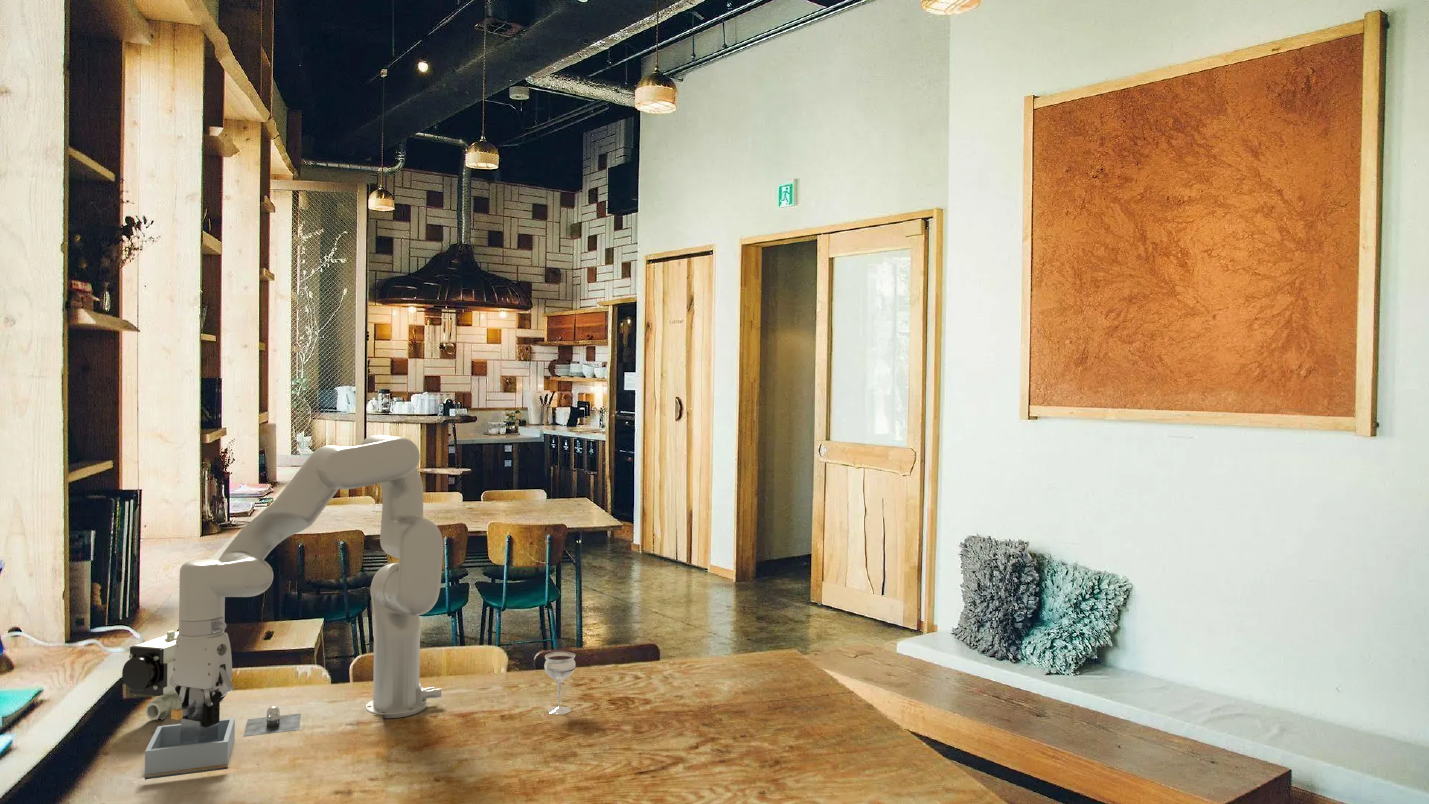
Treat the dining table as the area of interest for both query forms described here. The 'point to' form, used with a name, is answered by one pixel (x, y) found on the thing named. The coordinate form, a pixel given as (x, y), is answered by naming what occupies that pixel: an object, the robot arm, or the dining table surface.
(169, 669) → the ball valve
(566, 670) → the wineglass
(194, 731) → the grey upright piece
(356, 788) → the dining table surface
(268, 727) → the stud plate
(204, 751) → the tub
